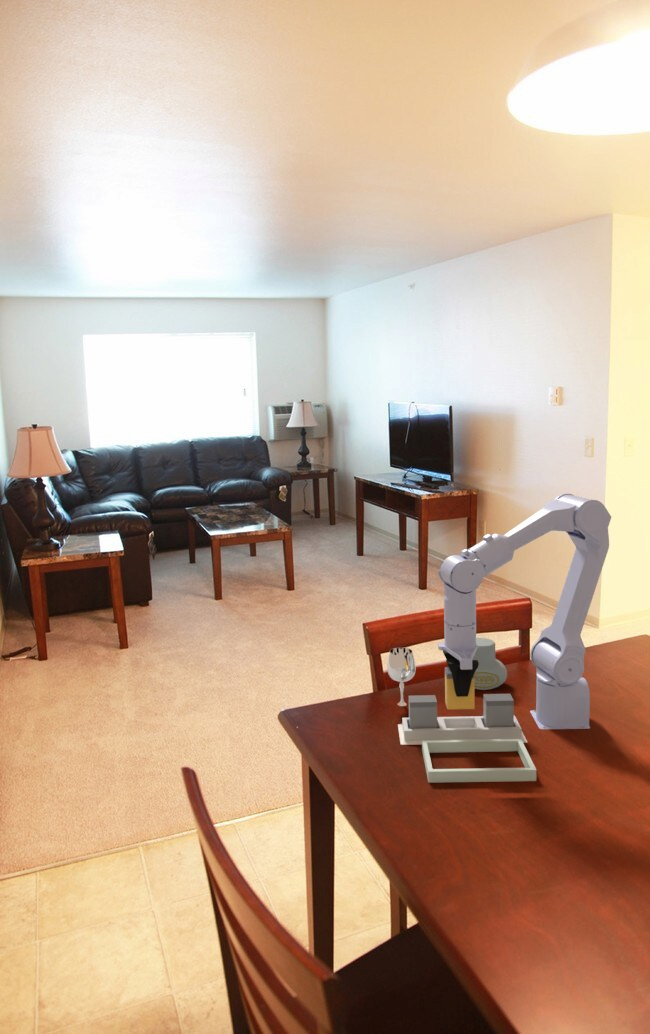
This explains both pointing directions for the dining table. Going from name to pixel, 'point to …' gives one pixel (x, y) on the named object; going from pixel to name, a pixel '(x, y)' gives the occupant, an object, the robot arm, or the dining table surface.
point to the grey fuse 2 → (498, 710)
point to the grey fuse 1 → (422, 712)
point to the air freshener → (488, 666)
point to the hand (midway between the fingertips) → (460, 691)
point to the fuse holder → (458, 730)
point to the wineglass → (401, 667)
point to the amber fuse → (450, 694)
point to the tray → (478, 773)
